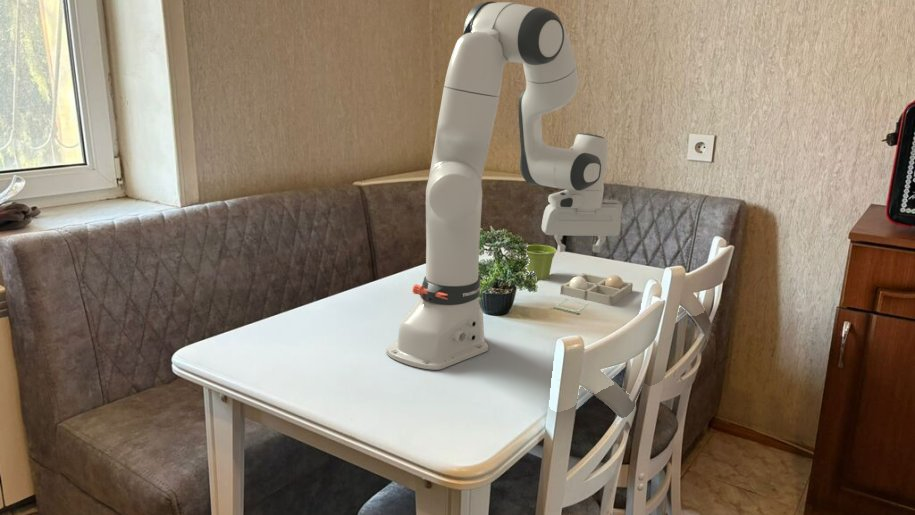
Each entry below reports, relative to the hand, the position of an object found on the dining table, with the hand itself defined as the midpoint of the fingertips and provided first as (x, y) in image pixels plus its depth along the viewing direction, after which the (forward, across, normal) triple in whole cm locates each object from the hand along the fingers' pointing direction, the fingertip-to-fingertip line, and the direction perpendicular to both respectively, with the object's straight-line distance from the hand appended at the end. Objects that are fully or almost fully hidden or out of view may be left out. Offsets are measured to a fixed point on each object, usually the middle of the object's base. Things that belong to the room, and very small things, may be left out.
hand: (578, 251), depth 176 cm
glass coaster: (+12, +4, +9) cm, 16 cm away
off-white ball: (+11, -1, +1) cm, 11 cm away
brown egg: (+11, -11, +1) cm, 15 cm away
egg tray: (+12, -6, +1) cm, 13 cm away
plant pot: (+12, +5, -15) cm, 20 cm away
